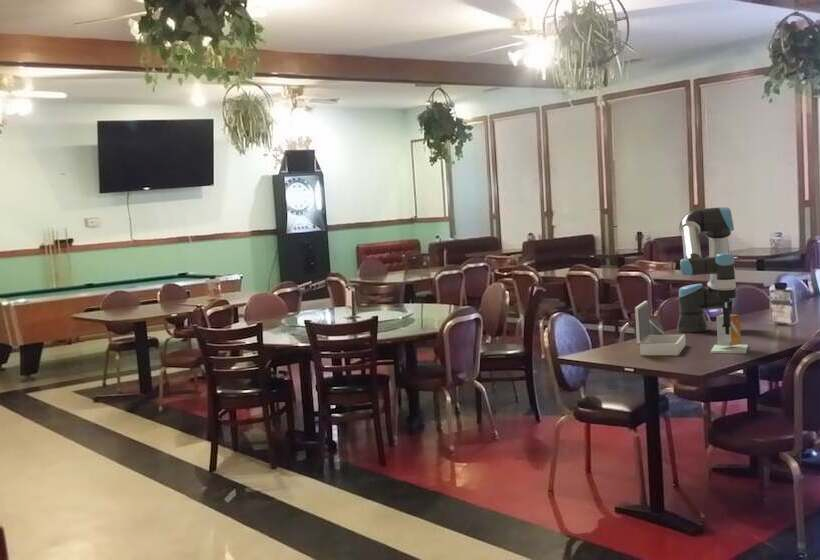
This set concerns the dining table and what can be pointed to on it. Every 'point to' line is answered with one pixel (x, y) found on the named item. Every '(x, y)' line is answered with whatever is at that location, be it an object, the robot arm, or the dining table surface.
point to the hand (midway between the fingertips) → (729, 339)
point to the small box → (734, 330)
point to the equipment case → (655, 336)
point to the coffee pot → (656, 321)
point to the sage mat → (729, 349)
